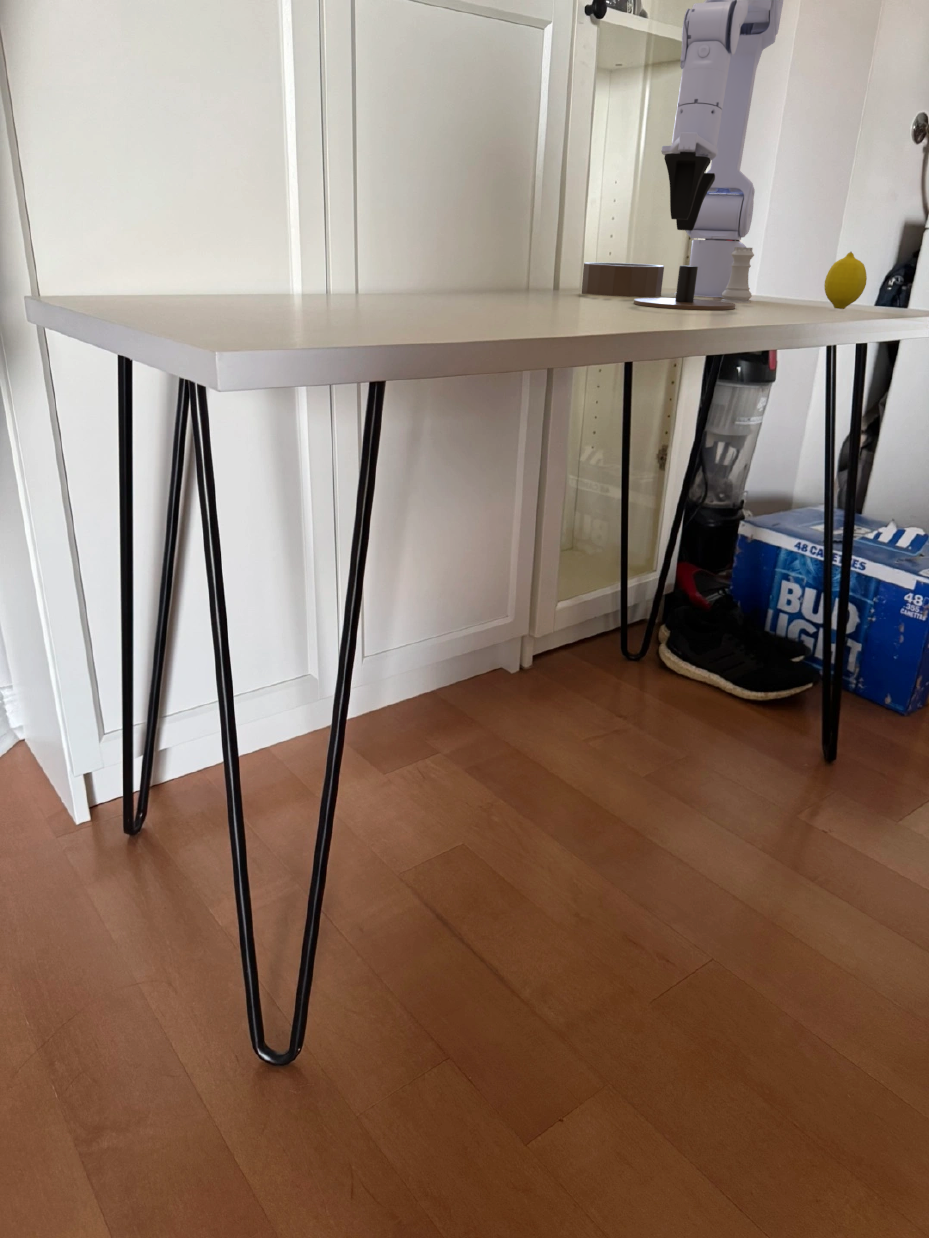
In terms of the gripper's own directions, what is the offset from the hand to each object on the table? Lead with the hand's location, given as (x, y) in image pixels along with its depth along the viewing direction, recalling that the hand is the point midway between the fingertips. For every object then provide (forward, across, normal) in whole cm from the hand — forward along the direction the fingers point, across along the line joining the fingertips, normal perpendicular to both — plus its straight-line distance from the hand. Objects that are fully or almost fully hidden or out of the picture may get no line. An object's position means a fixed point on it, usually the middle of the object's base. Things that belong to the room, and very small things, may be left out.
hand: (682, 224), depth 117 cm
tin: (+8, -20, -10) cm, 24 cm away
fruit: (+8, -18, +22) cm, 30 cm away
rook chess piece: (+8, -16, +8) cm, 20 cm away
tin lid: (+10, -1, +2) cm, 10 cm away
